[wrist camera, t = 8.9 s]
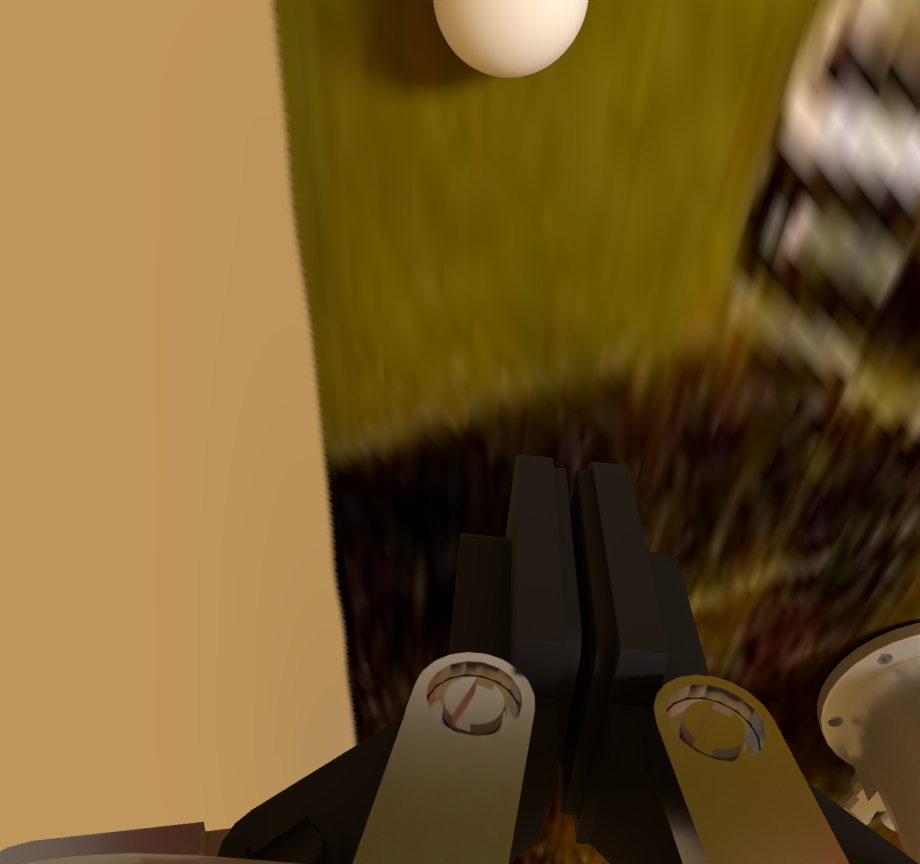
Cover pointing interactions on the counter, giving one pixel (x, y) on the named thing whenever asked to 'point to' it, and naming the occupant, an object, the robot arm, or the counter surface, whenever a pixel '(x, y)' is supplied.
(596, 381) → the counter surface
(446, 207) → the counter surface
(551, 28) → the cue ball
